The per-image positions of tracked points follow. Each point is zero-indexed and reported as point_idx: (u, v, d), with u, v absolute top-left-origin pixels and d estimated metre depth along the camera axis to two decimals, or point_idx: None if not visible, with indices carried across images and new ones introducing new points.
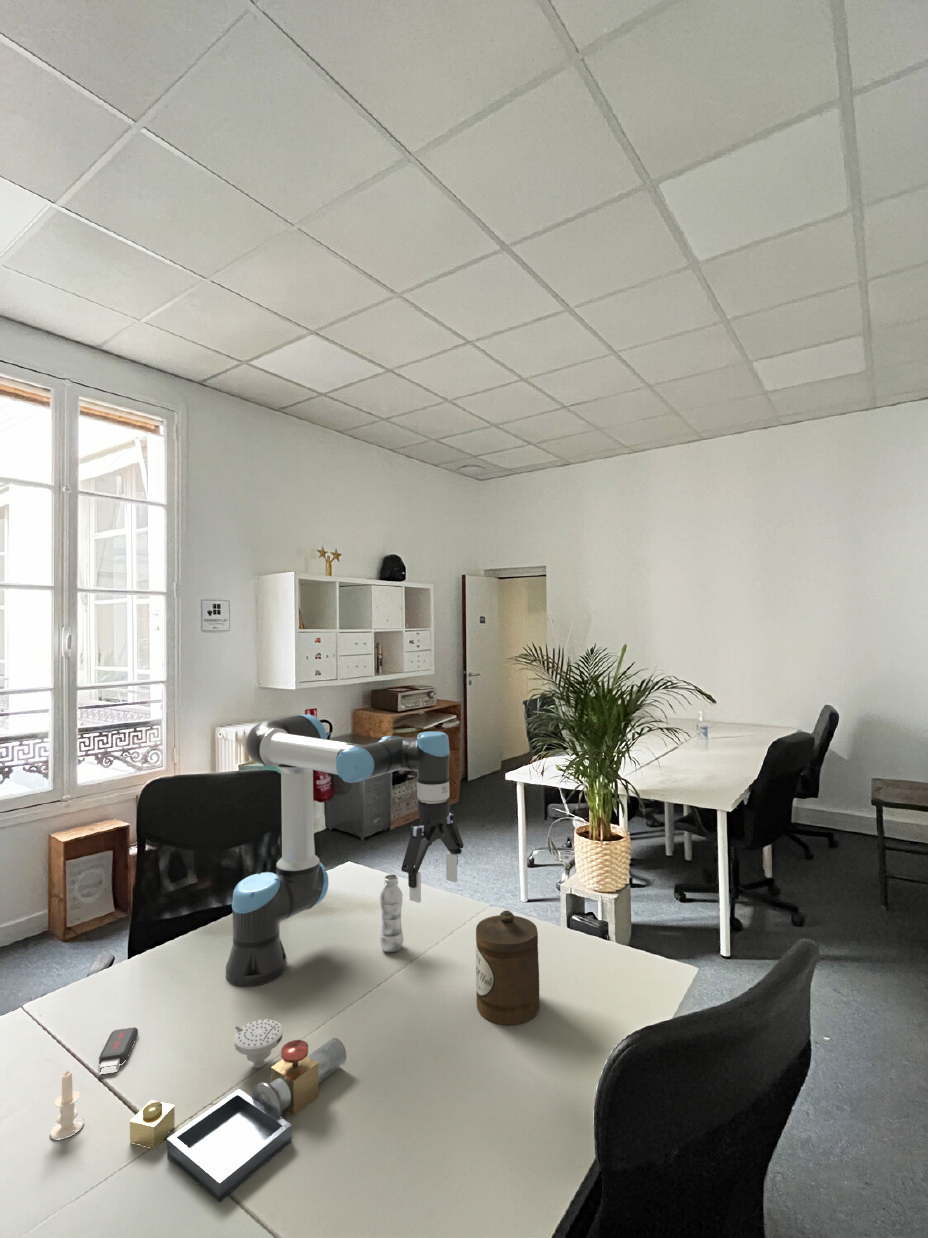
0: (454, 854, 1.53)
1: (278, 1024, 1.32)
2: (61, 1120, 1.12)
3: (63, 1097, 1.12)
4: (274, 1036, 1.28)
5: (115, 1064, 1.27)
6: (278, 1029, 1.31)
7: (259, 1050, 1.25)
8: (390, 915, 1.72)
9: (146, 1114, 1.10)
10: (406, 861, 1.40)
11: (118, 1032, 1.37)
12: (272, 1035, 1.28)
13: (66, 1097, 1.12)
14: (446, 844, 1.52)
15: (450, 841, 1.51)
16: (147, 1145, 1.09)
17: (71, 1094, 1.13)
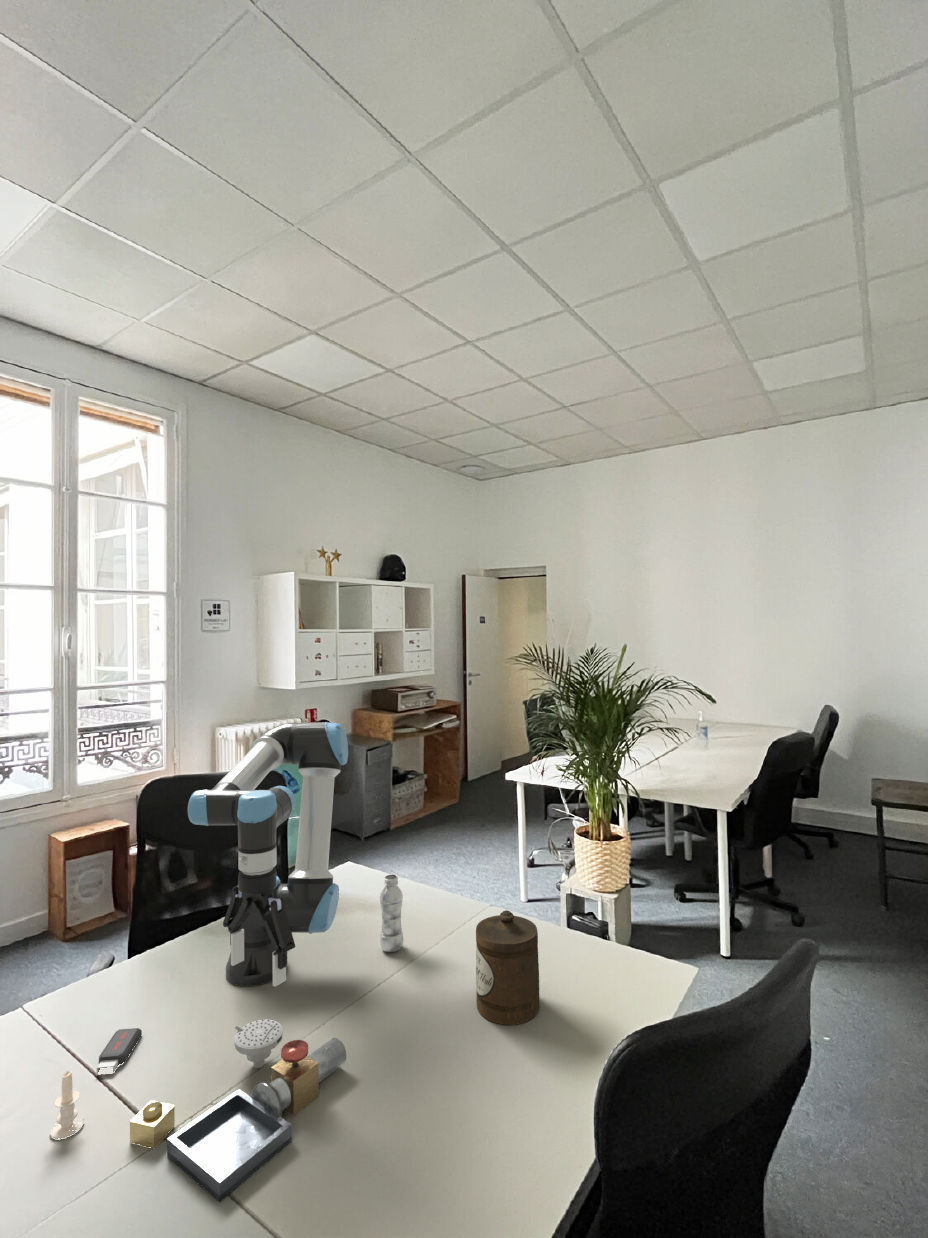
0: None
1: (278, 1024, 1.32)
2: (61, 1120, 1.12)
3: (63, 1097, 1.12)
4: (274, 1036, 1.28)
5: (112, 1065, 1.27)
6: (278, 1029, 1.31)
7: (259, 1050, 1.25)
8: (390, 915, 1.72)
9: (146, 1114, 1.10)
10: None
11: (121, 1032, 1.37)
12: (272, 1035, 1.28)
13: (66, 1097, 1.12)
14: None
15: (267, 930, 1.26)
16: (147, 1145, 1.09)
17: (71, 1094, 1.13)
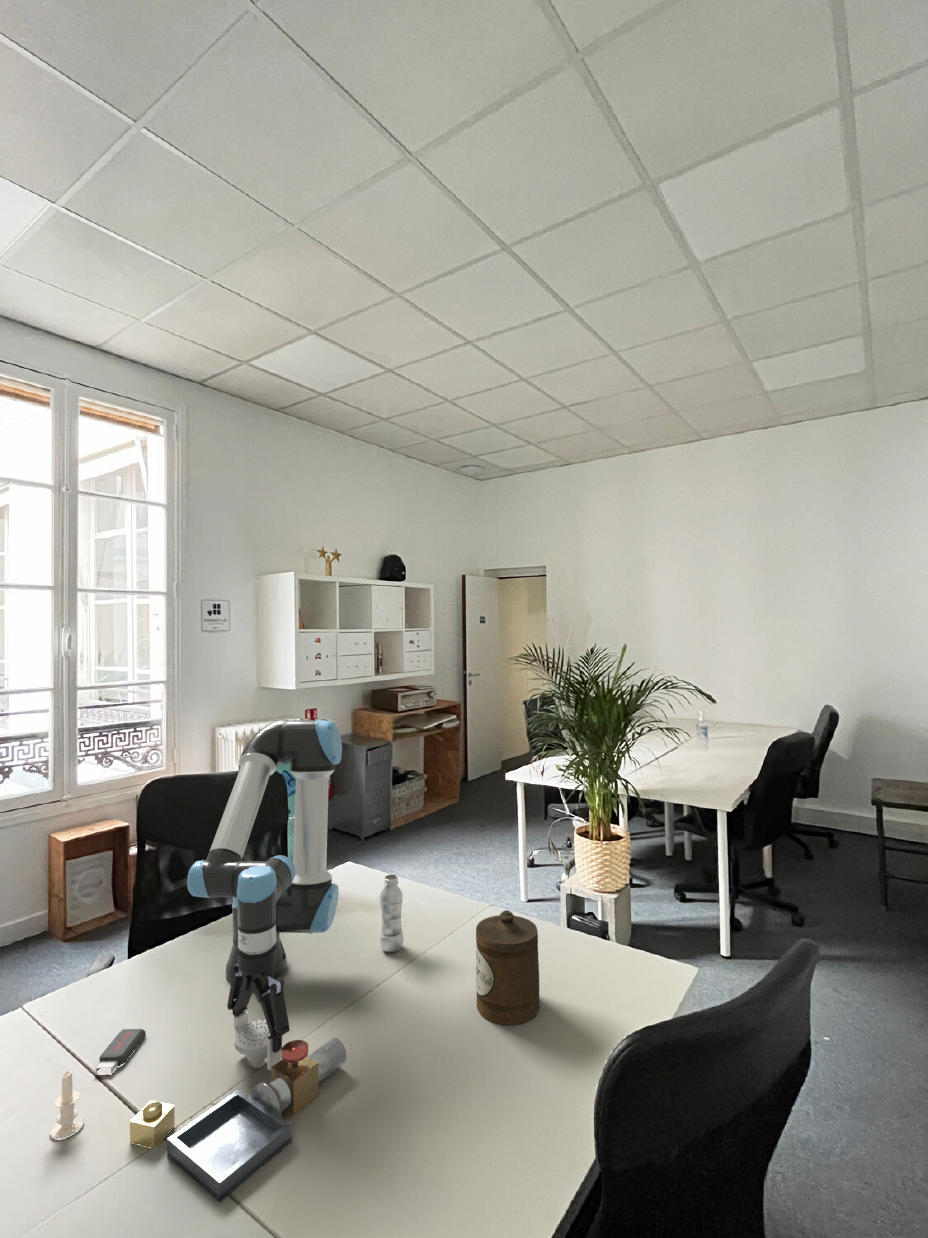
0: None
1: None
2: (61, 1120, 1.12)
3: (63, 1097, 1.12)
4: None
5: (110, 1066, 1.27)
6: None
7: (259, 1050, 1.25)
8: (390, 915, 1.72)
9: (146, 1114, 1.10)
10: None
11: (125, 1032, 1.37)
12: None
13: (66, 1097, 1.12)
14: None
15: (264, 1012, 1.26)
16: (147, 1145, 1.09)
17: (71, 1094, 1.13)
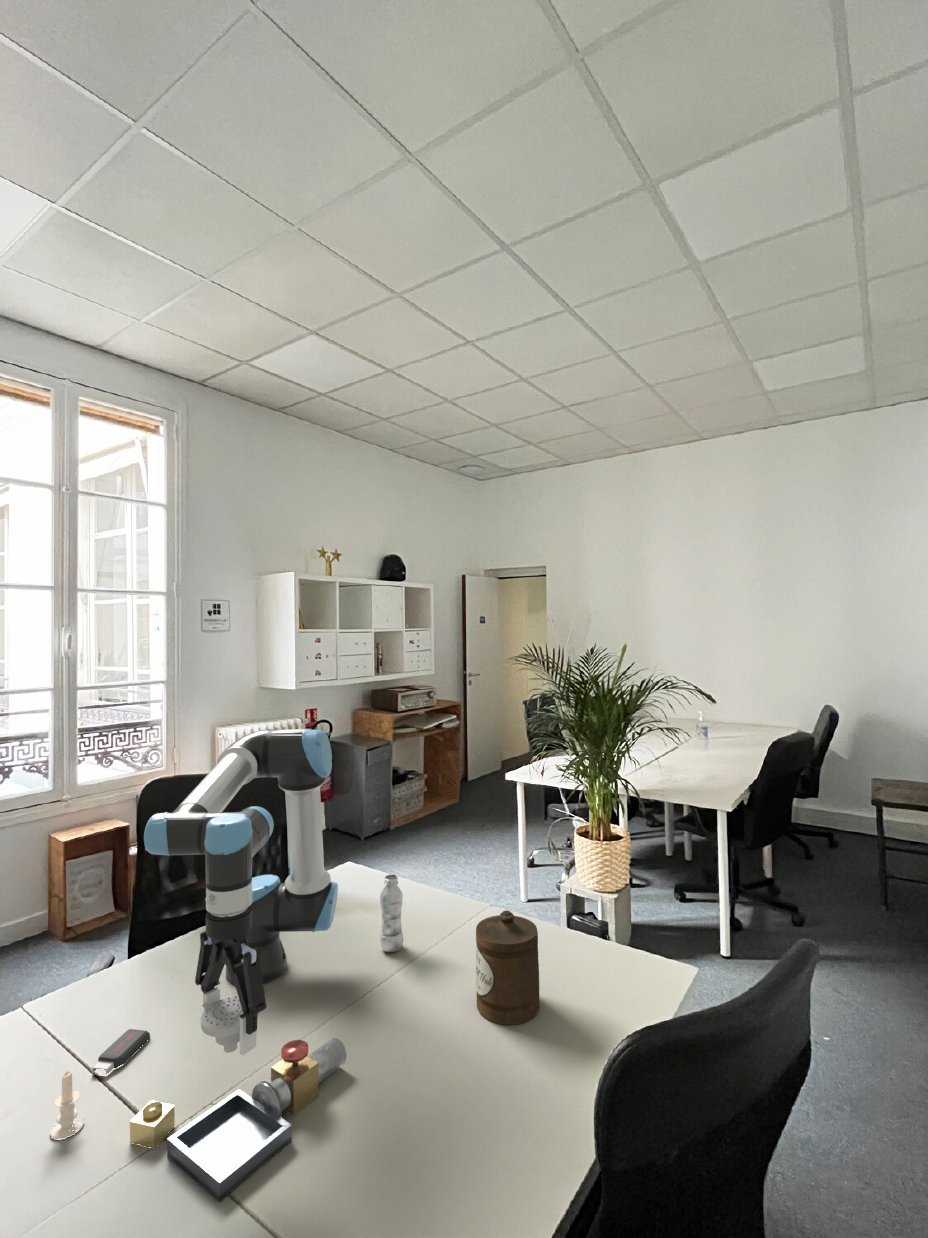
0: None
1: None
2: (61, 1120, 1.12)
3: (63, 1097, 1.12)
4: None
5: (106, 1068, 1.26)
6: None
7: (229, 1031, 1.04)
8: (390, 915, 1.72)
9: (146, 1114, 1.10)
10: None
11: (130, 1032, 1.37)
12: None
13: (66, 1097, 1.12)
14: None
15: (237, 986, 1.06)
16: (147, 1145, 1.09)
17: (71, 1094, 1.13)
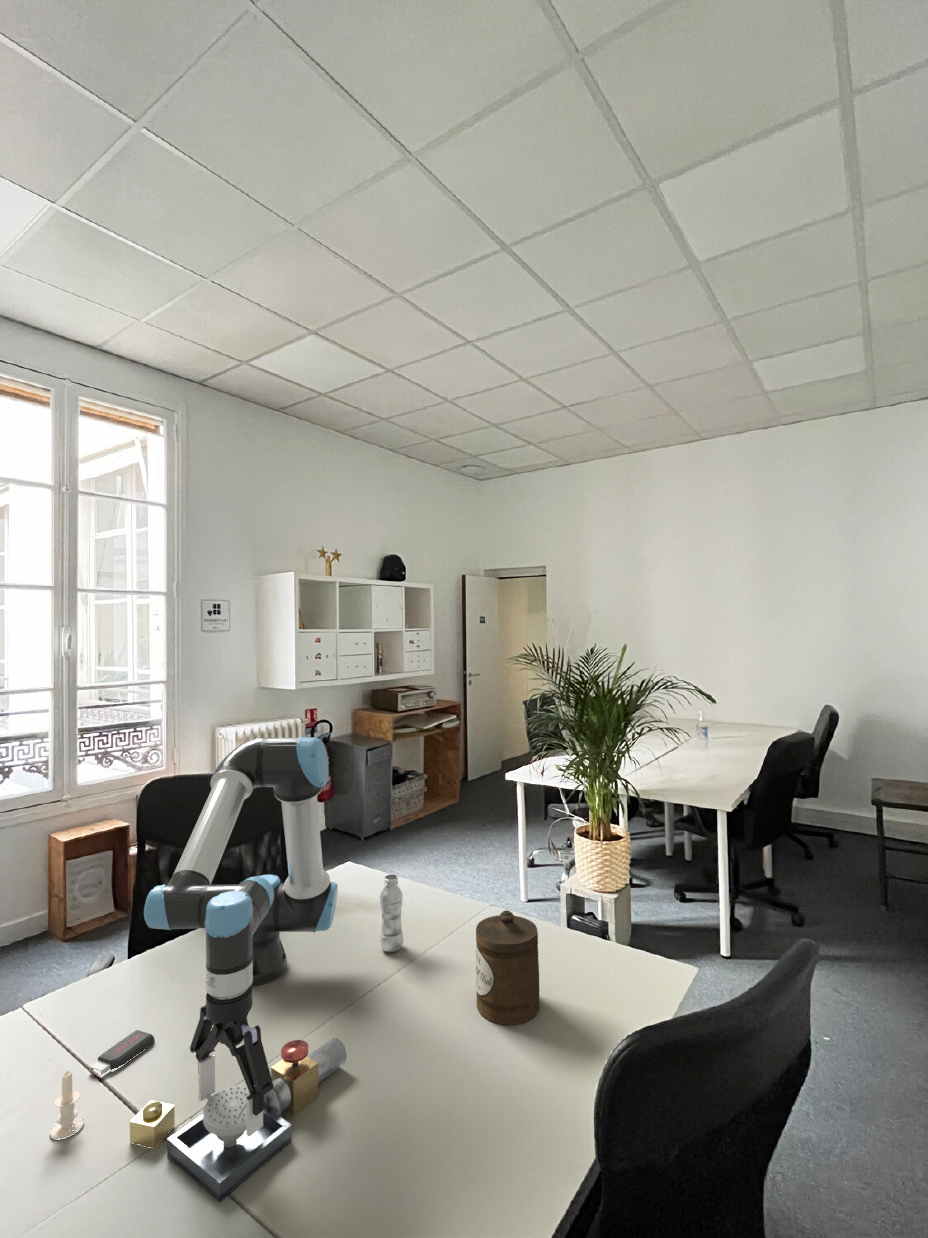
0: None
1: None
2: (61, 1120, 1.12)
3: (63, 1097, 1.12)
4: None
5: (101, 1069, 1.26)
6: None
7: (232, 1131, 1.04)
8: (390, 915, 1.72)
9: (146, 1114, 1.10)
10: None
11: (135, 1034, 1.36)
12: None
13: (66, 1097, 1.12)
14: None
15: (241, 1067, 1.05)
16: (147, 1145, 1.09)
17: (71, 1094, 1.13)
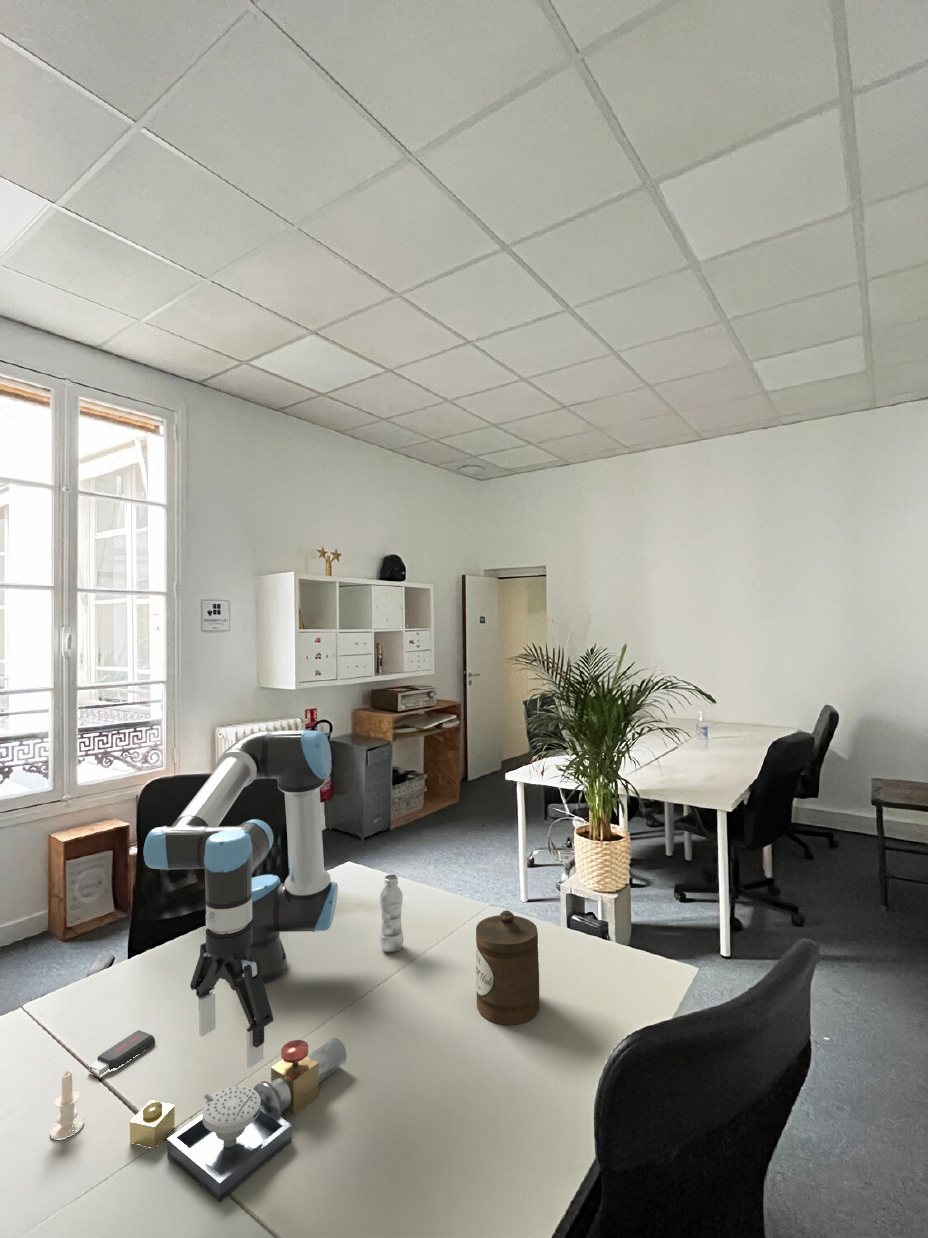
0: None
1: (255, 1093, 1.11)
2: (61, 1120, 1.12)
3: (63, 1097, 1.12)
4: (251, 1110, 1.07)
5: (99, 1069, 1.26)
6: (256, 1100, 1.10)
7: (231, 1127, 1.04)
8: (390, 915, 1.72)
9: (146, 1114, 1.10)
10: None
11: (136, 1034, 1.36)
12: (247, 1108, 1.08)
13: (66, 1097, 1.12)
14: None
15: (241, 1000, 1.05)
16: (147, 1145, 1.09)
17: (71, 1094, 1.13)
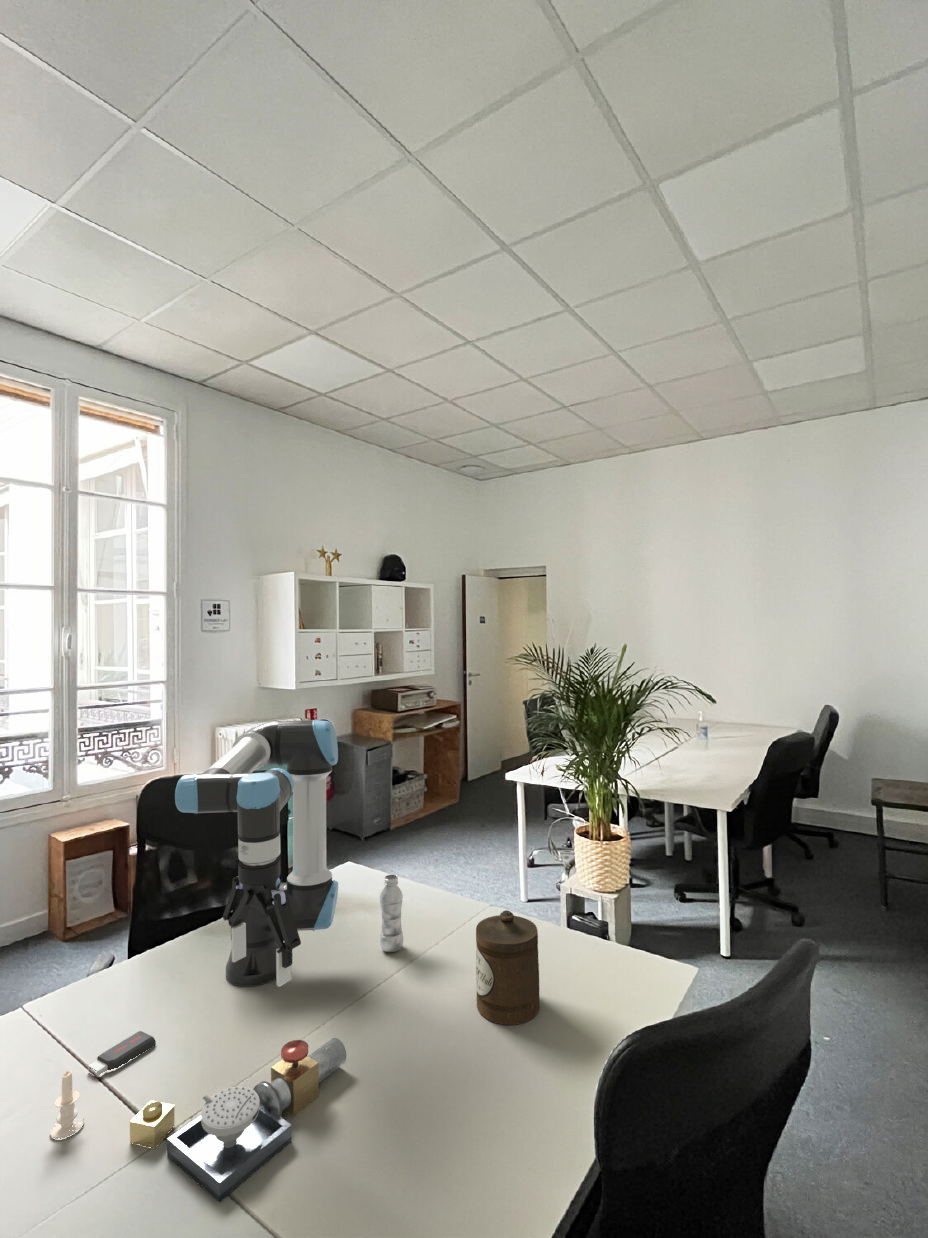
0: (279, 949, 1.14)
1: (254, 1094, 1.11)
2: (61, 1120, 1.12)
3: (63, 1097, 1.12)
4: (249, 1112, 1.07)
5: (97, 1070, 1.26)
6: (255, 1101, 1.10)
7: (230, 1130, 1.04)
8: (390, 915, 1.72)
9: (146, 1114, 1.10)
10: None
11: (137, 1035, 1.36)
12: (246, 1110, 1.07)
13: (66, 1097, 1.12)
14: None
15: (271, 926, 1.15)
16: (148, 1145, 1.09)
17: (71, 1094, 1.13)
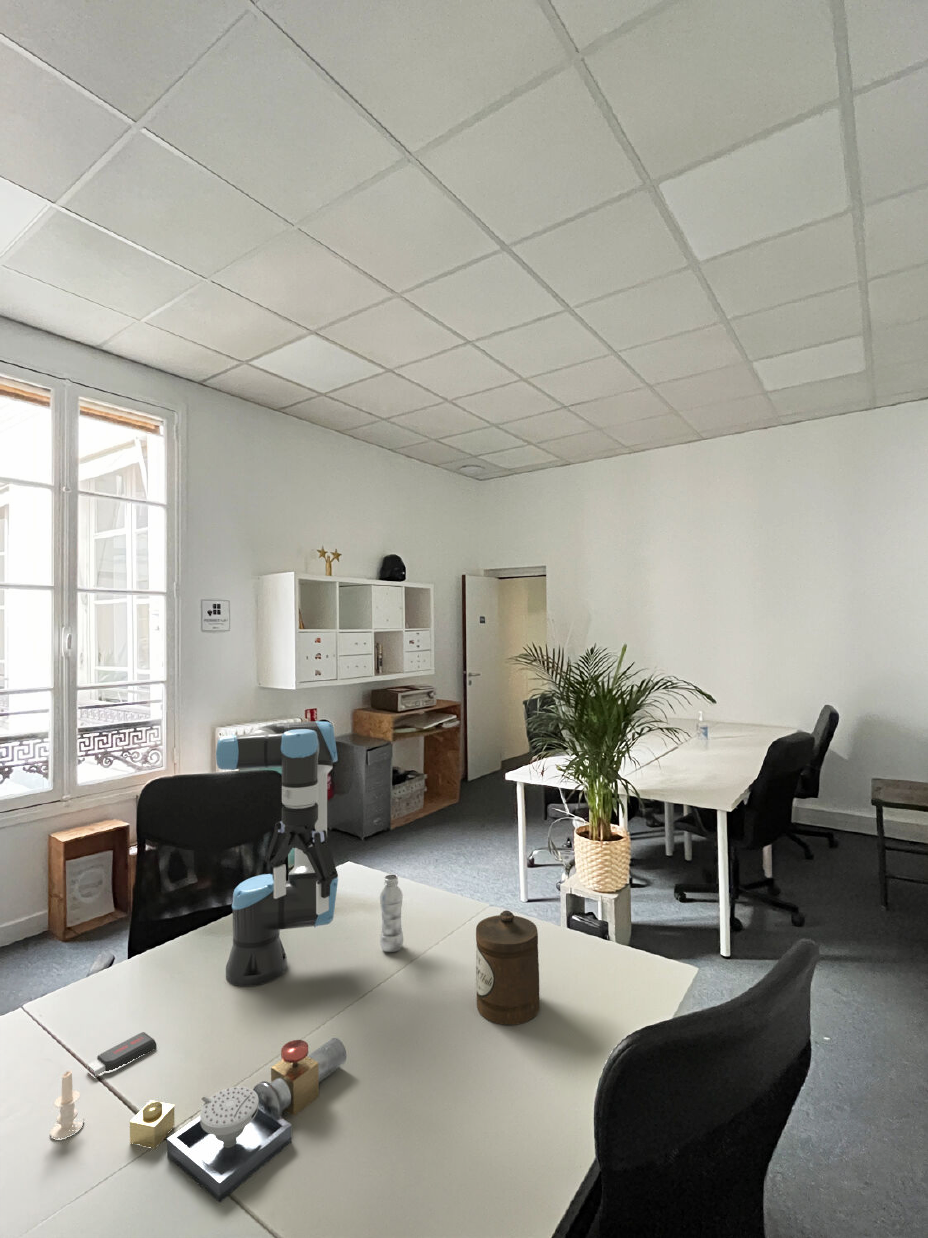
0: None
1: (253, 1093, 1.11)
2: (61, 1120, 1.12)
3: (63, 1097, 1.12)
4: (248, 1110, 1.07)
5: (95, 1070, 1.26)
6: (253, 1099, 1.10)
7: (229, 1129, 1.04)
8: (390, 915, 1.72)
9: (146, 1114, 1.10)
10: None
11: (139, 1036, 1.35)
12: (245, 1108, 1.08)
13: (66, 1097, 1.12)
14: None
15: (311, 861, 1.30)
16: (148, 1145, 1.09)
17: (71, 1094, 1.13)
